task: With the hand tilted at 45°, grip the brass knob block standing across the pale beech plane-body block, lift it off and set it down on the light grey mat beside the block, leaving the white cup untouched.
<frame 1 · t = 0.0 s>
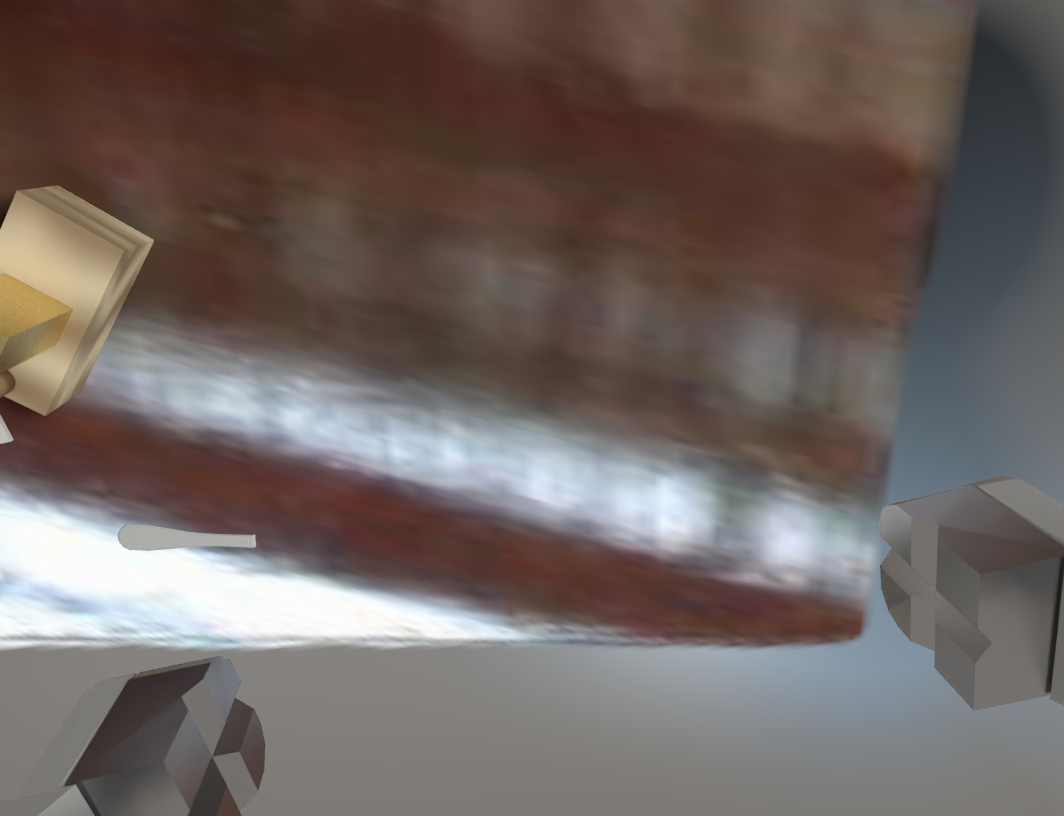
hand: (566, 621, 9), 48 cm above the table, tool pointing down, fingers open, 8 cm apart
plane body: (69, 294, 52), on the table
brass knob block: (31, 309, 48), point 5 cm above the table, touching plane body
butter knife: (264, 537, 62), on the table
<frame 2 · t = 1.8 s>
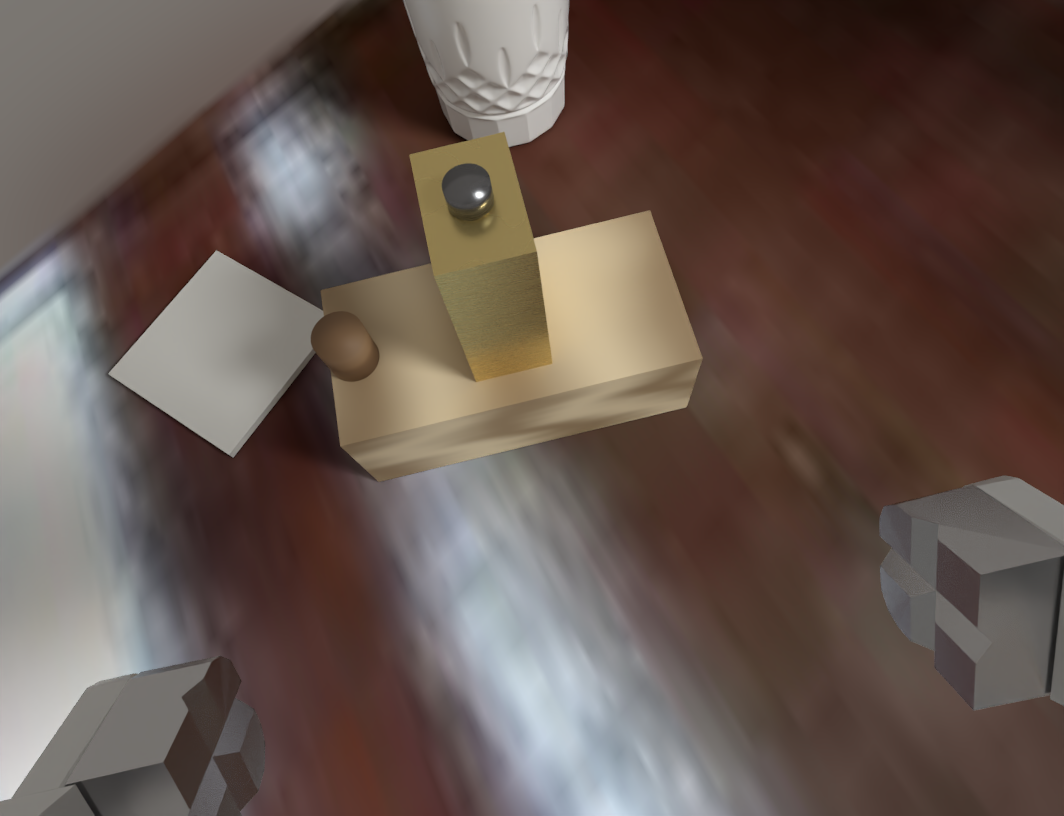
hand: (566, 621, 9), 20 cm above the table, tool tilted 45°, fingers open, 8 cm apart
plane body: (516, 374, 32), on the table
brass knob block: (502, 322, 28), point 5 cm above the table, touching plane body
white cup: (504, 104, 39), on the table
mat: (226, 349, 34), on the table
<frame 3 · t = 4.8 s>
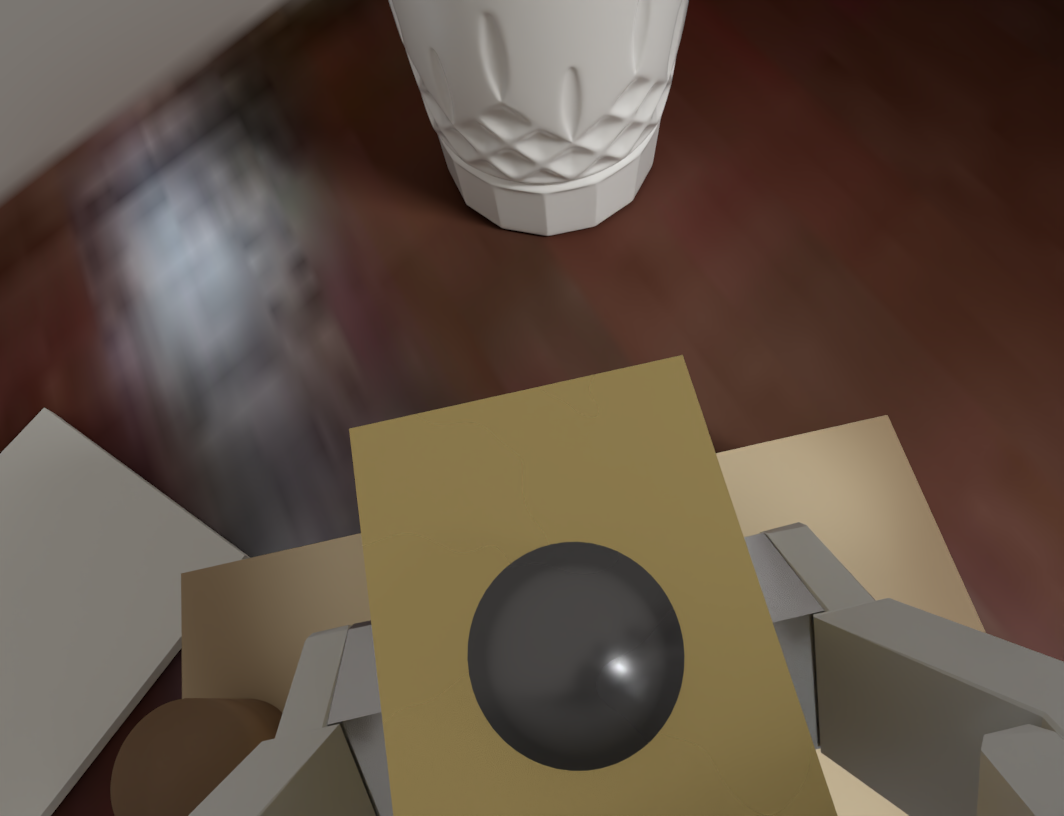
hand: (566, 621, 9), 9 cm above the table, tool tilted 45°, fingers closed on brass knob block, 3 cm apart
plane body: (580, 689, 17), on the table
brass knob block: (579, 683, 12), point 5 cm above the table, touching gripper, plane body
white cup: (550, 159, 23), on the table
mat: (40, 605, 18), on the table
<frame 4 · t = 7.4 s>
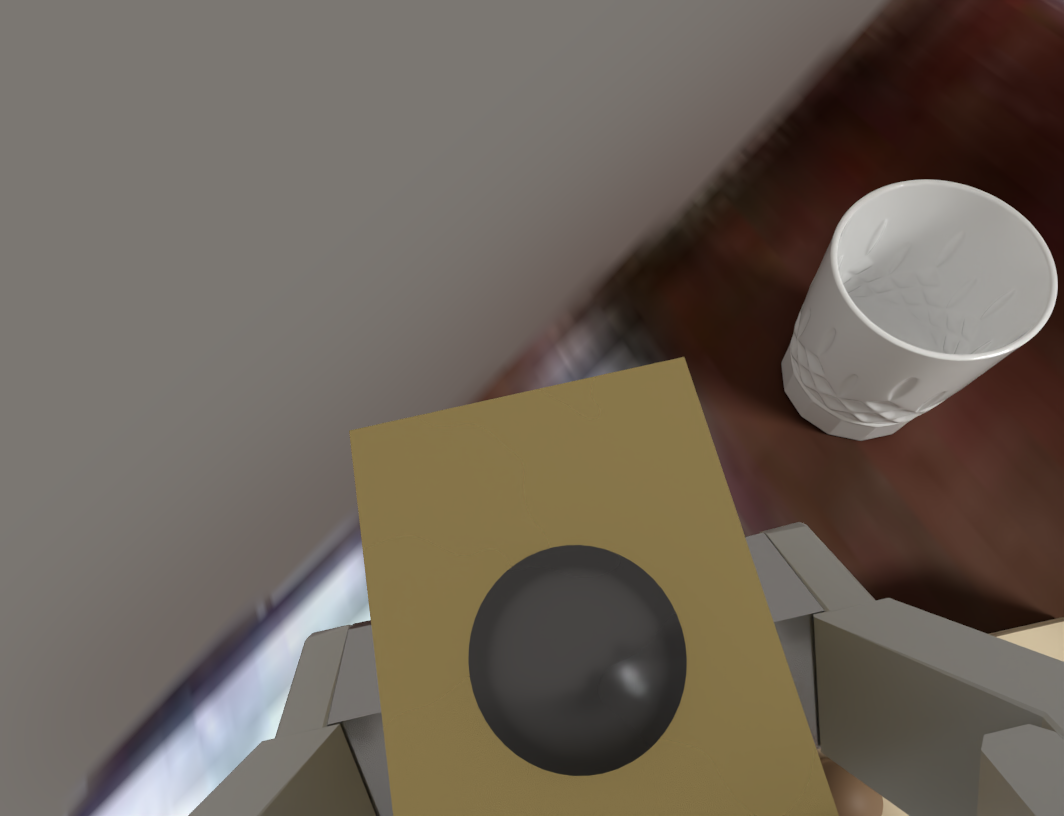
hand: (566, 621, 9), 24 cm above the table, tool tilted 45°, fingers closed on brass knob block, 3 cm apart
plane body: (933, 743, 29), on the table
brass knob block: (580, 685, 12), point 20 cm above the table, touching gripper
white cup: (848, 380, 35), on the table
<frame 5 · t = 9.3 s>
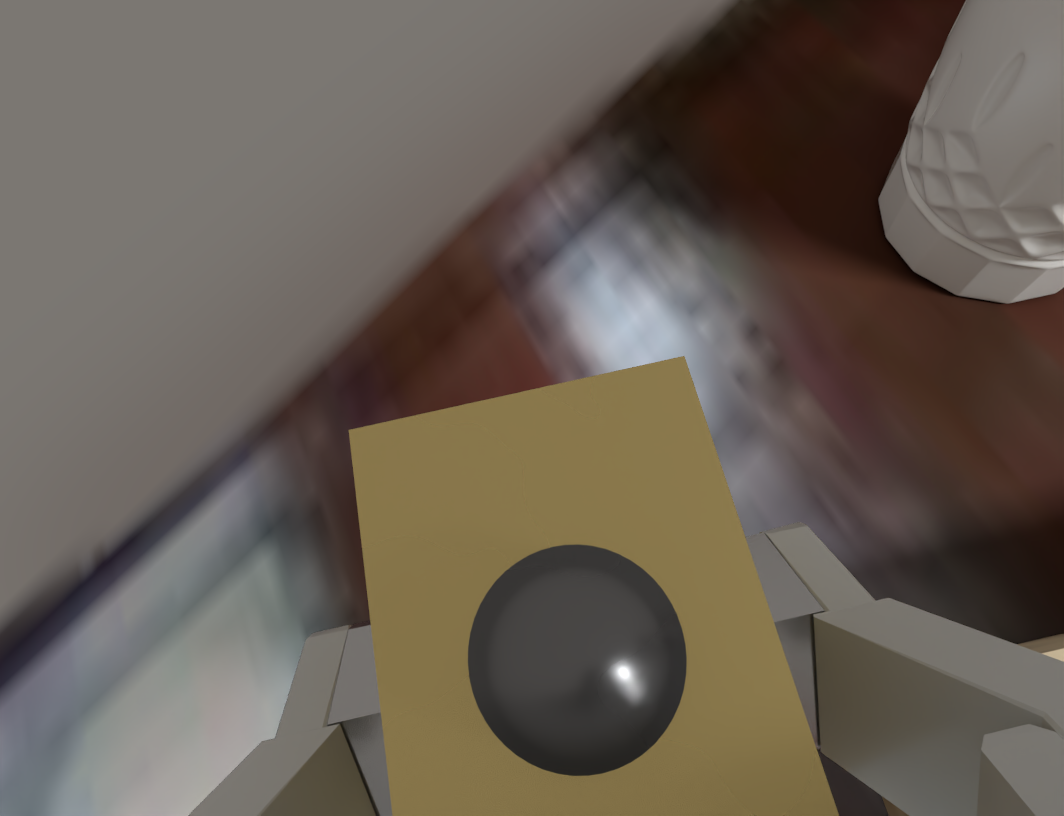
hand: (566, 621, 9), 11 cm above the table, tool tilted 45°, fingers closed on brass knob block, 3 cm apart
brass knob block: (580, 685, 12), point 7 cm above the table, touching gripper
white cup: (978, 222, 24), on the table
when the fingers open (6 cm above the table, at t = 10.5 s): brass knob block drops 1 cm, resting on mat.
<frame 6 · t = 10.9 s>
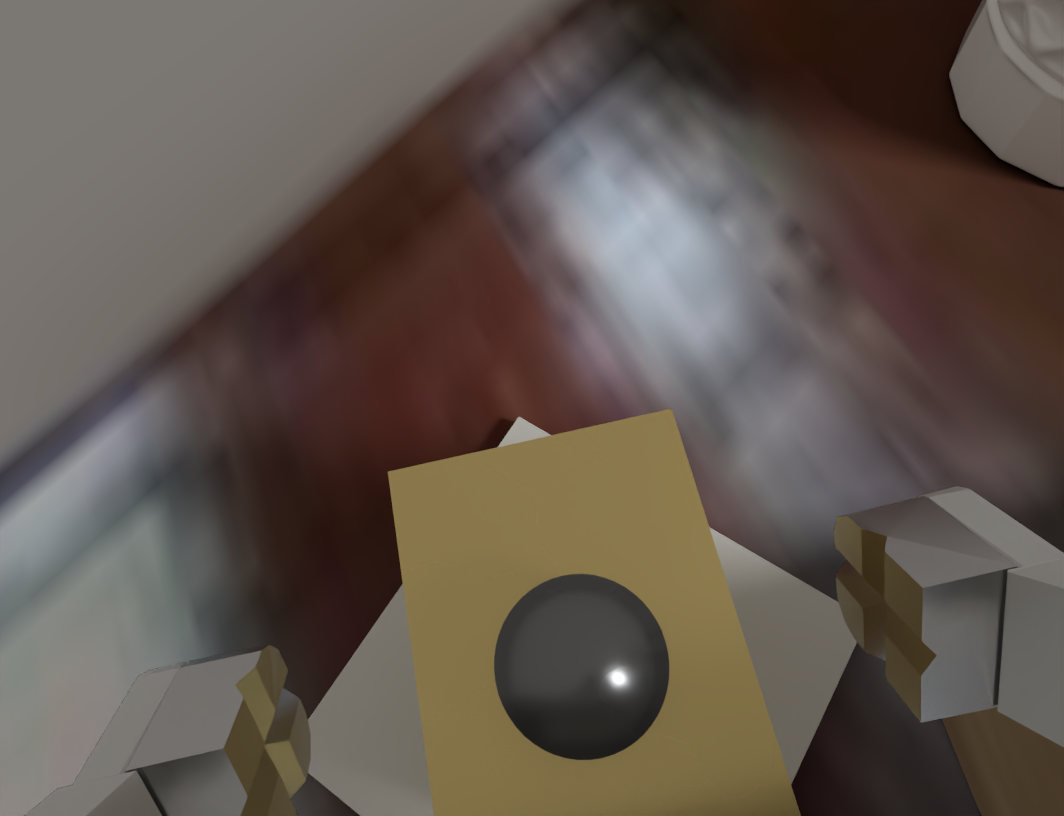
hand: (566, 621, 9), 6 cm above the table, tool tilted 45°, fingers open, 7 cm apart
brass knob block: (582, 686, 13), resting on mat
mat: (578, 686, 14), on the table
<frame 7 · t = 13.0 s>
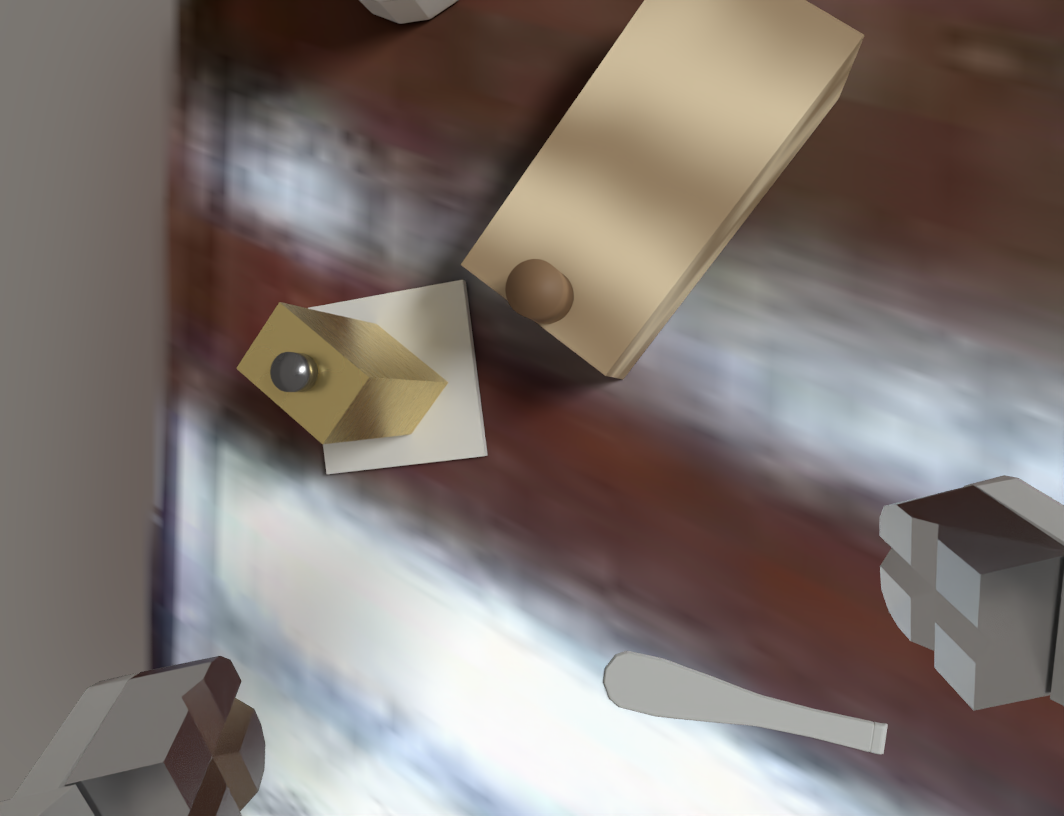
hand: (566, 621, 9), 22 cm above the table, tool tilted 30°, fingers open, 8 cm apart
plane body: (658, 197, 30), on the table
brass knob block: (393, 378, 32), resting on mat
butter knife: (900, 735, 28), on the table
mat: (396, 379, 33), on the table
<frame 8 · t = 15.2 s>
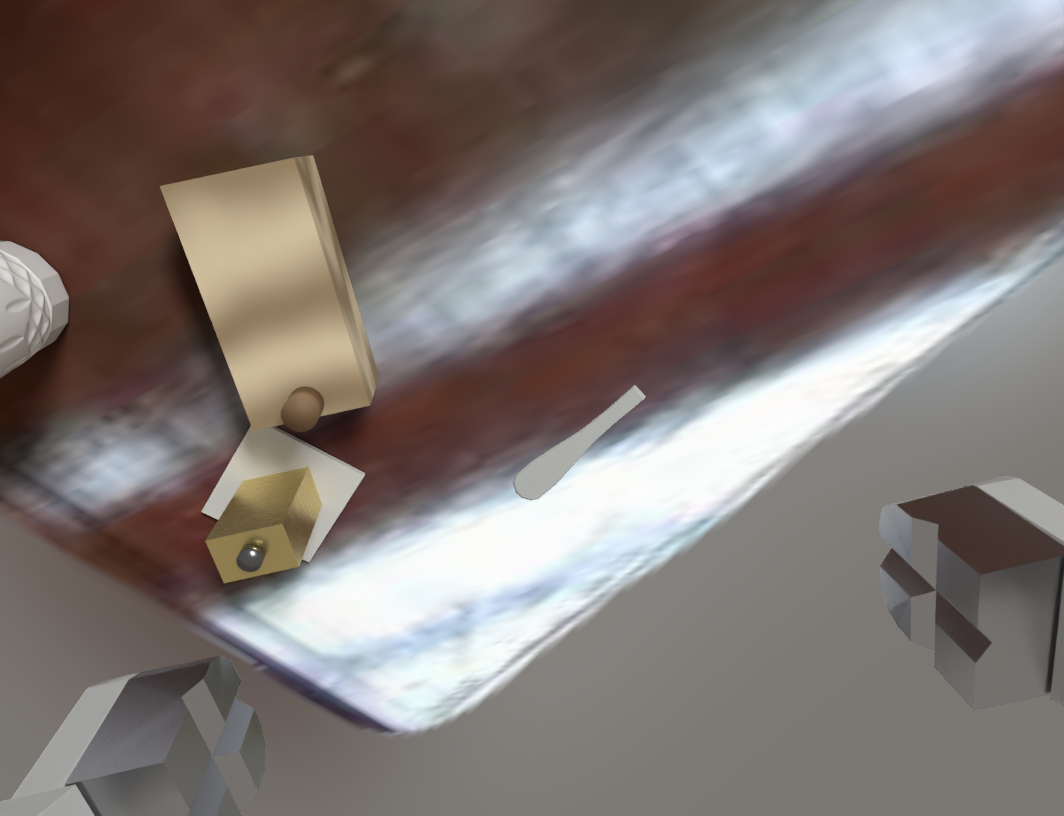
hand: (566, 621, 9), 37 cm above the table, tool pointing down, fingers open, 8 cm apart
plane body: (292, 285, 43), on the table
brass knob block: (283, 492, 48), resting on mat
butter knife: (644, 381, 48), on the table
white cup: (12, 295, 42), on the table
mat: (284, 491, 48), on the table
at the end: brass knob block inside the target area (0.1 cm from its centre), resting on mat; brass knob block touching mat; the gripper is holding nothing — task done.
